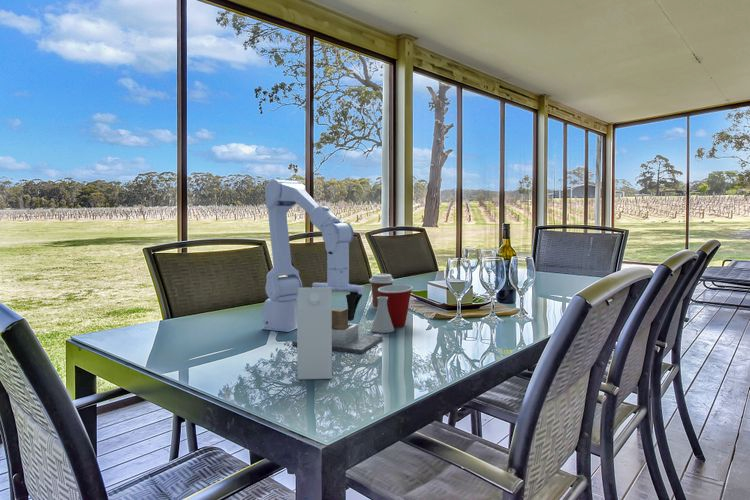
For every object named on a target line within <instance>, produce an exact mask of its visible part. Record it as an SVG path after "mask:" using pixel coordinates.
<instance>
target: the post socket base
mask: <svg viewBox="0 0 750 500" xmlns="http://www.w3.org/2000/svg"><path fill="white" fill-rule="evenodd" d="M383 339H384V337H383V336H379V335H373V334H371V335H370V334H360V333H359V324H358V323H350V322H348V328H347V329H345V330H339V329H332V351H337V352H344V353H345V352H346V353H353V354H358V355H359V354H360V355H362V354H364V353H365V352H368V351H369V350H370V349H371V348H373V347H375V346H376V345H377V344H379V343H380V342H382V341H383ZM291 342H292V343H291V346H296V347H297V338H296V339H295V340H292V341H291Z"/></svg>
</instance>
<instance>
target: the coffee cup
mask: <svg viewBox="0 0 750 500" xmlns="http://www.w3.org/2000/svg"><path fill="white" fill-rule="evenodd" d="M368 281H369V283H370V285H371V286H370V287H371V297H372V299H371V300H372V308H373V309H374V310H377V308H378V299H377V297H381V295H380V293H379V291H378V288H380V287H384V286H389V285H394V284H393V283H395V279H394V278H393V275H392V274H390V273H374V274H372V275H371V277H370V278H369V279H368Z"/></svg>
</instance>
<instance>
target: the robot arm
mask: <svg viewBox="0 0 750 500" xmlns="http://www.w3.org/2000/svg"><path fill="white" fill-rule="evenodd" d="M264 196H265V203H266V206H265V207H266V209H267V217H268V224H269V233H270V234H269V235H270V244H271V255H272V263H273V264H272V265H273V267H272V268H271V270H269V271H268V273H267V274H266V275H265V277H266V282H265V287H264V289H265V294H266V295H267V297H268V298H267V299H265V301H264V302H263V307H262V315H263V316H262V321H263V324H262V327H261V330H266V331H267V330H268V331H276V332H283V333H285V332H286V333H289V332H293V331H294V330H297V300H298V288H303V282H302V280H301V278H300V271H299V270H298V269H296V268H295V267H294V266H293V265H292V255H291V245H290V235H289V227H288V217H287V216H288V212H289V210H291V209H292V208H294V207H295V206H296V205H298V206H299V207H300V208H301V209H303V211H304V212H306V213H307V214H308V215H309V221H310V223H312V224H313V226H314V227H316V228H317V229H318V230H319V232H320V233H321V236H322V240H323V242H324V245H325V246H324V248H325V251H326V254H327V255H326V257H327V258H326V262H327V263H326V264H327V265H326V270H327V271H326V275H327V277H326V279H327V280H326V282H313V283H312V284H311V286H312V287H311V288H323V287H331V292H333V293H334V292H335V293H344V294H345V293H348V294H346V295H345V298H346V304H347V309H348V322H351V321H353V320H354V318H355V314H356V311H357V307H358V305H359V303H360V300H361V299H362V297H363V294H365V285H359V284H351V283H349V282H350V280H349V279H350V273H349V271H350V243H351V242H353V239H354V236H355V234H354V229H353V226H352V225H351V223H350V222H347V221H342V220H340V218H339V217H338V216H336V215H335V214H334V213H333V212H331V210H330V207H328V206H327V205H326V206H324V205H319V204H318V203H317V202H316V200H314V199H313V197H312V196H311V195H310V194H309V193H308V192H307V190H306V185H304V184H303V183H302V182H301V181H300V180H297V179H296V180H287V179H275V178H272V179H270V180H269V181H268V183H267V185H266V186H265V188H264Z"/></svg>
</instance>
